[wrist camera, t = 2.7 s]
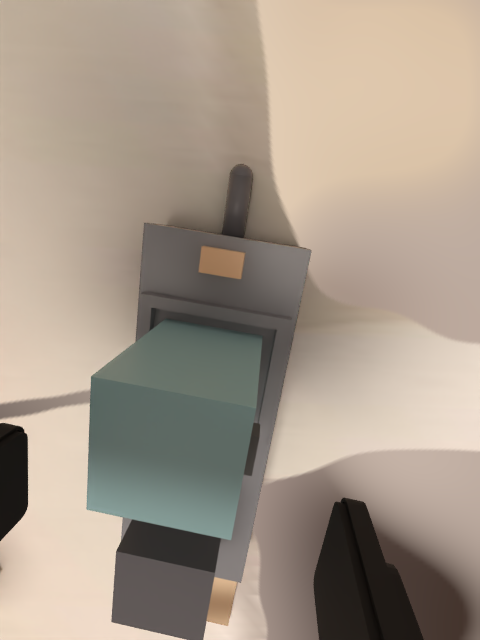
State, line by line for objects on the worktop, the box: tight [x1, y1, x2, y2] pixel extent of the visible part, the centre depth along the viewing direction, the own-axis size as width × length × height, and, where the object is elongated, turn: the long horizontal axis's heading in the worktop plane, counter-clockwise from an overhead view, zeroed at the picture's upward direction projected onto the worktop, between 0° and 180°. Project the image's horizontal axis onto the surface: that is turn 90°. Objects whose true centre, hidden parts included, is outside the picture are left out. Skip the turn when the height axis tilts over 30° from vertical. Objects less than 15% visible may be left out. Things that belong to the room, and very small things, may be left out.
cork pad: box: [207, 577, 237, 626], centre depth 24 cm, size 6×8×1 cm
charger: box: [87, 319, 263, 540], centre depth 13 cm, size 5×5×7 cm
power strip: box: [111, 164, 311, 640], centre depth 16 cm, size 25×8×8 cm, turn 171°
